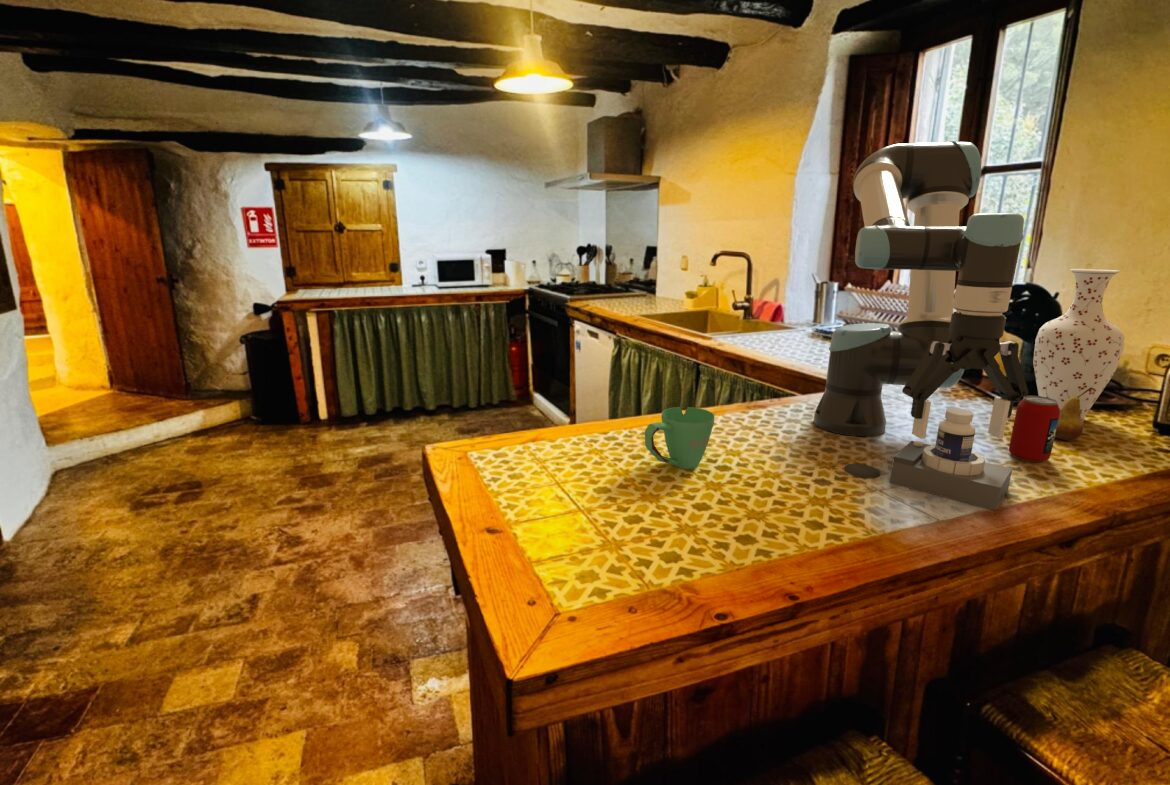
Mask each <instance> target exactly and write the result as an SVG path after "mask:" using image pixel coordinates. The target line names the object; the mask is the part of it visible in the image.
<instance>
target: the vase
mask: <svg viewBox="0 0 1170 785" xmlns="http://www.w3.org/2000/svg"><path fill="white" fill-rule="evenodd" d="M1069 271H1070V272H1071V273H1073V274H1074V279H1075V293H1074V296H1073V301H1072V302H1071V304H1070V306H1069V308H1068V309H1067V310H1066V311H1065V312H1064V313H1063V314H1062V315H1061V316H1058V317H1057V318H1054V319H1051V320H1049V321H1047V322H1045V323H1044V324H1043V325H1042V326H1041V327H1040V328H1039V330H1038V332H1037V334H1036V337H1035V340H1034V341H1035V344H1034V351H1033V361H1032V362H1033V363H1032V364H1033V368H1034V370H1033V371H1034V376H1035V382H1036V387H1037V394H1038V395H1037V396H1041V397H1047V398H1051V399H1054V400H1056V401H1058V403H1057V404H1058V406H1059V408H1060V410H1061V408H1062V407H1063V406H1064V404H1065V403H1066V402H1067V401H1068V400H1069V399H1070V398H1072V397H1074V396H1076V397H1078V396H1079V395H1081V394H1082V393H1084V392H1085V391H1086V390H1087V389H1089V388H1090V387H1092V388H1093V389H1091V390H1089V391H1087V392H1086V393H1084V394H1083V395H1082V396H1080V397H1079V399H1080V416H1081V419H1082V421H1083V422H1084V421H1085V417H1086V415H1087V413H1089V411H1090V410H1091V408H1092V407H1093V405H1094V404H1095V403H1096V401H1097V400H1098V398H1099V397H1100V395H1101V394H1102V392H1103V391H1104V389H1105V388H1106V386H1107V384H1109V382H1110V381H1111V379H1112V378H1113V376H1114V375H1115V373H1116V371H1117V368H1118V365H1119V362H1120V360H1121V357H1122V354H1123V351H1124V348H1125V345H1124V344H1125V335H1124V334H1123V332H1122V330H1121V329H1120V328H1119V327H1117V326H1116V325H1115V324H1114V323H1112V322H1110V321H1109V320H1108V318H1106V316H1105V313H1104V309H1103V308H1104V307H1103V299H1104V294H1105V291H1106V289H1107V287H1108V285H1109V283H1110V282H1111V279H1112V278H1113V276H1115V275H1116V274H1119V273H1121V270H1117V269H1116V270H1114V269H1113V270H1112V269H1098V268H1097V269H1095V268H1094V269H1093V268H1091V269H1090V268H1071V269H1069Z"/></svg>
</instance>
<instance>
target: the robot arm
mask: <svg viewBox="0 0 1170 785" xmlns="http://www.w3.org/2000/svg"><path fill="white" fill-rule="evenodd" d="M981 176H982V160H981V154H980V151H979V149H978V147H977V146H976V145H975V144H974V143H973V142H969V141H956V140H951V141H946V142H945V141H943V142H942V141H941V142H916V143H914V142H912V143H895V144H891V145H888V146H885V147H883V148H880V149H878V150H877V151H875V152H873V153H872V154H870V155H868V157H867V158H866V159H864V160H863V162H862V163H860V165H859V166H858V167H857V169H856V171H855V173H854V175H853V181H852V187H853V188H852V189H853V193H854V195H855V197H856V199H857V200H858V201H859V202H860V206H861V213H862V218H863V219H862V220H863V223H864V224H863V226H864V227H861V228H860V229H859V230H858V233H857V237H856V243H855V250H854V251H855V253H854V262H855V265H856V266H857V267H858V268H860V269H870V270H875V271H880V270H899V271H900V270H901V271H902V270H905V271H906V270H907V271H908V270H910V274H909V275H910V276H909V290H908V291H909V292H908V302H907V316H906V318H905V319H903V320H902V321H901V322H900V323H899V324H898V325H899V326H898V331H895V330H893V331H892V328H891V325H890V324H887V323H882V322H881V323H878V322H877V323H874V322H864V323H853V324H847V325H843V326H839V327H838V328H836V329H835V330H834V331H833V332H832V334H831V340H830V345H829V347H828V351H829V354H828V355H829V357H828V364H827V365H828V366H827V372H826V373H827V374H826V381H825V382H826V383H825V389H824V392H823V394H822V397H821V398H820V400H819V402H818V405H817V407H816V409H815V410H814V414H813V424H814V425H815V426H816V427H818V428H820V429H822V430H824V431H828V432H831V433H833V434H834V433H835V434H839V435H845V436H854V437H855V436H857V437H871V436H872V437H873V436H878V435H881V434H884V433H885V431H886V426H887V420H886V419H887V418H886V414H885V409H884V405H883V404H884V403H883V399H882V390H883V385H892V386H904V387H903V388H902V390H901V392H902V393H903V394H904V395H906V396H908V397H910V398H912V403H911V408H910V415H911V416H910V417H912V418H913V422H912V423H913V424H912V429H911V430H912V431H911V435H914V436H915V437H917V438H919V439H921V440H924V439H926V435H927V430H928V423H929V417H930V411H931V404H932V401H930V400H928V399H929V398H930V397H931V396H932V395H933V394H934V393H935V392H936V391H937V390H938V389H939V388H940V389H941V388H942V389H949V388H952V387H954V386H955V385H957V383H958V382H959V381H960V380H961V378H962V376H963V375H964V372H965V370H971V369H974V370H983V372H984V373H985V374H986V376H987V377H988V379H989V381H990V382H991V383H992V385H993V387H994V388H995V389H996V391H997V392H998V394H999V396H995V397H994V400H993V405H992V410H991V415H990V420H989V425H988V431H987V433H988V434H990V435H991V436H993V437H996V438H998V439H1004V435H1005V431H1006V426H1007V420H1008V419H1010V418H1011V417H1012V413H1013V408H1014V404H1015V403H1017V402H1020V401H1021V400H1022V398H1024V397H1026V396H1029V389H1028V386H1027V383H1026V380H1025V376H1024V372H1023V369H1022V365H1021V361H1020V359H1019V347H1020V345H1019V343H1018V342H1015V341H1011V340H1006V339H1004V340H1002V341H1001V342H1000V339H1002V337H1003V336H1004V332H1005V327H1006V321H1007V317H1006V316H1005V314H1003V313H1006V312H1007V311H1008V310H1009V305H1010V299H1011V294H1012V290H1013V282H1014V279H1015V274H1016V270H1017V263H1018V261H1019V260H1018V259H1019V253H1020V250H1021V244H1022V242H1023V239H1024V226H1025V225H1024V224H1025V223H1024V222H1025V218H1024V216H1023V215H1022V214H1020V213H1009V212H1007V213H996V212H995V213H974V214H972V215H971V216H969V217H968V219H967V223H966V225H965V226H959V225H960V212H961V210H962V209H963V208H964V207H965V206H967V205H968V203H969V199H970V198H973V197H974V196H975V195H976V193H977V192H978V190H979V187H980V182H981V179H980V177H981ZM904 199H906V200H907V209H908V210H909V211H911V213H913V214H914V220H913V226H912V225H911V224H910V220H909V217H908V214H907V210H906V206H905V202H904ZM956 272H958V278H957V283H956V275H957V274H956ZM955 285H956V286H955ZM954 310H956V311H954ZM998 354H1000V358H1001V359H1000V360H1001V362H1002V366H1003V369H1004V373H1005V375H1004V373H1003V371H1002V370H1001V368H1000V367H1001V366H1000V364H999V363H998V361H997V360H996V359H997V358H995V357H996V356H997V355H998ZM1021 397H1022V398H1021Z"/></svg>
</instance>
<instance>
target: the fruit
mask: <svg viewBox="0 0 1170 785" xmlns="http://www.w3.org/2000/svg"><path fill="white" fill-rule="evenodd" d="M1091 389H1093V388H1092V387H1090V388H1089V389H1087V390H1086V391H1085V392H1084V393H1086V392H1087V391H1089V390H1091ZM1084 393H1082V394H1081V395H1079V396H1078V397H1076V396H1074V397H1072V398H1070V399H1069V400H1068V401H1067V402H1066V403H1065V404H1064V406H1063V407H1062V408H1061V410H1060V415H1059V420H1058V425H1057V429H1056V434H1055V439H1059V440H1063V441H1067V442H1069V441H1070V442H1071V441H1074V440H1076V439H1079V437H1081V435H1082V434H1083V432H1084V428H1085V427H1084V425H1085V424H1084V421H1082V419H1081V416H1080V399H1079V397H1080V396H1082V395H1083V394H1084Z"/></svg>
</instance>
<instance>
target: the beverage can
mask: <svg viewBox="0 0 1170 785" xmlns="http://www.w3.org/2000/svg"><path fill="white" fill-rule="evenodd" d="M1057 403H1058V401H1056V400H1054V399H1051V398H1047V397H1041V396H1039V395H1027V396H1026V397H1022V398H1021V400H1020V401H1019V403H1018V404H1017V407H1016V411H1015V415H1014V422H1013V424H1012V430H1011V436H1010V441H1009V447H1008V452H1009V453H1010V454H1012V455H1013V457H1015V458H1016V459H1020V460H1023V461H1027V462H1032V463H1033V462H1034V463H1042V462H1043V461H1047V460H1049V459H1050V457H1051V454H1052V451H1053V446H1054V442H1055V439H1056V437H1055V434H1056V429H1057V425H1058V420H1059V415H1060V408H1059V406H1058V404H1057Z"/></svg>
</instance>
